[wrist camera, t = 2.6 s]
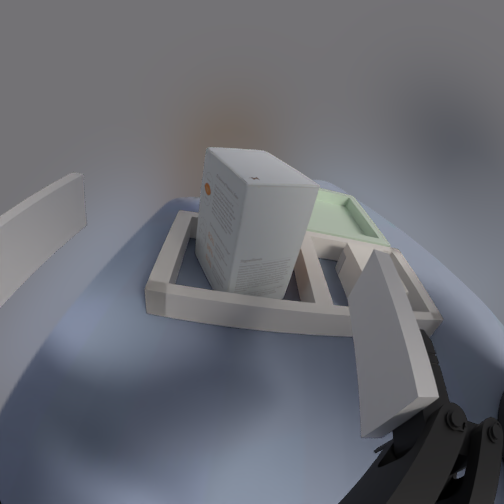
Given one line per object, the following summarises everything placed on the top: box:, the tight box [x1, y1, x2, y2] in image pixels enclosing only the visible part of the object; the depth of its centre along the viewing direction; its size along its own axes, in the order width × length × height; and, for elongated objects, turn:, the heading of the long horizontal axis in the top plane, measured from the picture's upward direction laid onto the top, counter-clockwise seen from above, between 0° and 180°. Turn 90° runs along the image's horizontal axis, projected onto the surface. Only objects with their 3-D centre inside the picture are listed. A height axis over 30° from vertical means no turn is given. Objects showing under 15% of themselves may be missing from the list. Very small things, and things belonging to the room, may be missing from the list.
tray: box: [306, 188, 391, 247], centre depth 37 cm, size 13×15×2 cm
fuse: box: [335, 242, 409, 300], centre depth 25 cm, size 5×7×4 cm, turn 0°
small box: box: [195, 147, 320, 299], centre depth 22 cm, size 8×6×10 cm
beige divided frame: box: [145, 210, 444, 337], centre depth 25 cm, size 26×12×3 cm, turn 90°
